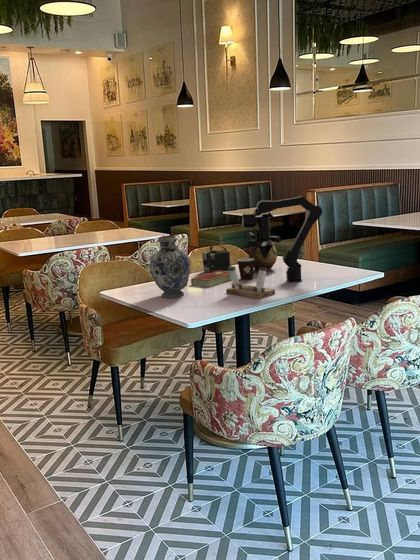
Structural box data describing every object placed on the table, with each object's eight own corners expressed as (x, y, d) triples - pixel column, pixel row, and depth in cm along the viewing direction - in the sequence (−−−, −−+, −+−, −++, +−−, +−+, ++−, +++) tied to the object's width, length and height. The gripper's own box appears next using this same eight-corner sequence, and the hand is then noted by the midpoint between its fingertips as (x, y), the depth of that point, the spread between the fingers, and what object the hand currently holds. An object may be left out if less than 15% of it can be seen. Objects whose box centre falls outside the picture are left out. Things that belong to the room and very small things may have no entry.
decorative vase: (198, 297, 242) (192, 236, 236) (158, 303, 237) (151, 241, 232) (186, 288, 262) (181, 232, 257) (149, 293, 258) (143, 236, 252)
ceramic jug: (279, 271, 286) (276, 216, 280) (250, 273, 287) (247, 218, 281) (275, 266, 303) (273, 213, 297) (248, 267, 303) (245, 215, 297)
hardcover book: (191, 285, 270) (190, 277, 269) (218, 277, 285) (217, 269, 284) (209, 288, 262) (208, 279, 261) (235, 279, 277) (235, 271, 276)
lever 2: (258, 288, 238) (261, 267, 238) (263, 289, 235) (267, 268, 236) (255, 287, 236) (259, 267, 237) (260, 288, 234) (264, 267, 234)
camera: (201, 271, 302) (199, 245, 299) (223, 268, 308) (221, 242, 305) (209, 274, 293) (207, 247, 290) (231, 270, 298) (230, 244, 295)
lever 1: (235, 283, 248) (229, 265, 244) (240, 284, 245) (234, 266, 242) (232, 285, 247) (227, 267, 243) (237, 286, 244) (232, 268, 241)
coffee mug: (236, 280, 273) (235, 261, 270) (241, 276, 280) (240, 258, 278) (257, 280, 268) (256, 261, 266) (262, 277, 276) (261, 258, 274)
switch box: (243, 288, 254) (242, 280, 253) (275, 293, 239) (274, 285, 238) (226, 293, 246) (226, 285, 246) (258, 299, 232) (257, 290, 231)
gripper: (264, 224, 269) (265, 254, 272) (238, 228, 257) (239, 260, 260) (281, 225, 261) (282, 256, 264) (255, 229, 248) (256, 262, 252)
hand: (264, 258), depth 260 cm, fingers closed
